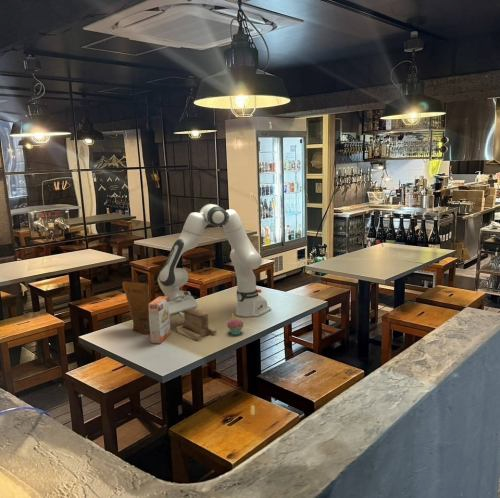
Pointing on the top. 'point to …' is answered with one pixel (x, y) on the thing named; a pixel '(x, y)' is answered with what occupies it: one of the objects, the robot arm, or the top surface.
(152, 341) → the cracker box
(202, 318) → the block
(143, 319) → the pancake mix bag
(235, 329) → the cupcake
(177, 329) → the chute
